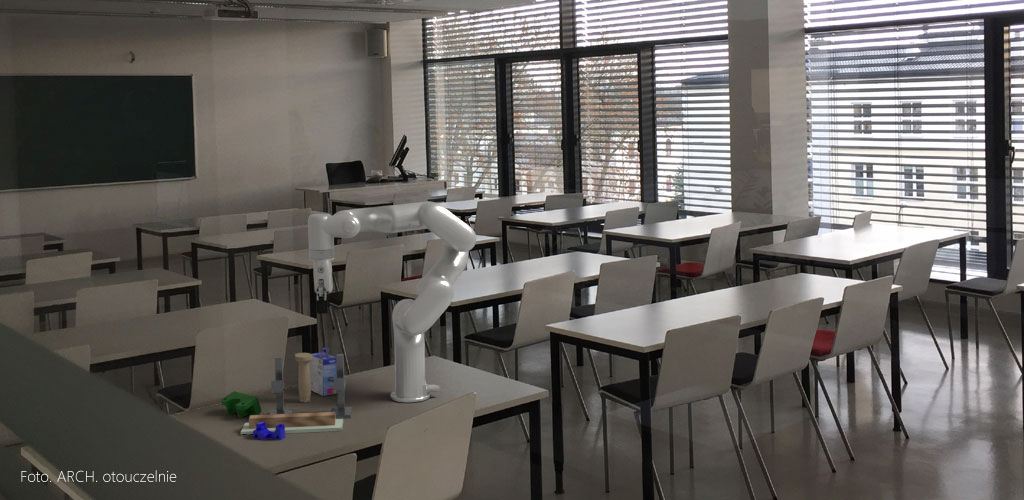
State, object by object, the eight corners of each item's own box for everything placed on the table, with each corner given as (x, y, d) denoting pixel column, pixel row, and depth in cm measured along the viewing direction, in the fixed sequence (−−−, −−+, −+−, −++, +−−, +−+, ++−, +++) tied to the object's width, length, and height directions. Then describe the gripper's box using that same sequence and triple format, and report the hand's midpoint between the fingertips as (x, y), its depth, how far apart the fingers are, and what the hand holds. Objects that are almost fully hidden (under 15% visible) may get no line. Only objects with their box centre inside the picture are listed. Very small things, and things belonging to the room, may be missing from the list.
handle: (303, 405, 293) (301, 358, 291) (293, 400, 298) (291, 354, 296) (317, 402, 296) (315, 355, 294) (307, 397, 301) (305, 351, 299)
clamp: (230, 427, 286) (215, 401, 285) (245, 418, 290) (231, 392, 290) (249, 420, 278) (235, 393, 277) (265, 411, 282) (251, 384, 282)
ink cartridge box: (338, 393, 306) (337, 350, 304) (323, 396, 302) (321, 352, 300) (324, 387, 313) (323, 344, 311) (309, 390, 310) (307, 347, 308)
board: (343, 422, 277) (343, 418, 277) (341, 430, 269) (341, 427, 269) (245, 426, 273) (245, 422, 273) (240, 435, 265) (240, 431, 265)
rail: (335, 421, 274) (335, 411, 273) (335, 425, 271) (334, 415, 270) (250, 425, 271) (250, 415, 270) (249, 428, 268) (248, 418, 267)
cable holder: (253, 439, 263) (252, 425, 262) (260, 435, 266) (260, 421, 266) (277, 442, 260) (277, 428, 260) (285, 438, 263) (284, 424, 263)
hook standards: (351, 410, 288) (350, 352, 286) (350, 419, 279) (348, 360, 277) (271, 413, 285) (269, 355, 283) (267, 422, 276) (265, 362, 274)
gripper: (332, 258, 278) (334, 315, 280) (336, 250, 295) (337, 304, 297) (306, 259, 277) (308, 316, 279) (311, 251, 294) (313, 305, 296)
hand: (323, 310), depth 288 cm, fingers open, 9 cm apart
